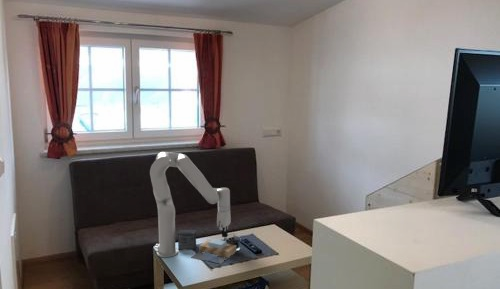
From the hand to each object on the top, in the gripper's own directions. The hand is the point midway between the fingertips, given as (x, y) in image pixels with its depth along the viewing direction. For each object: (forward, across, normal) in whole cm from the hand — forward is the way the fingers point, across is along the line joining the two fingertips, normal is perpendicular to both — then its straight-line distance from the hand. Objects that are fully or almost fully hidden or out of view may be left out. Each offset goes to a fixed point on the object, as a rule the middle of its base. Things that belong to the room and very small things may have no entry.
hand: (224, 236), depth 241 cm
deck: (+7, +8, 0) cm, 11 cm away
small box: (+7, +11, -20) cm, 24 cm away
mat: (+7, +18, 0) cm, 19 cm away
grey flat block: (+3, +8, 0) cm, 9 cm away
